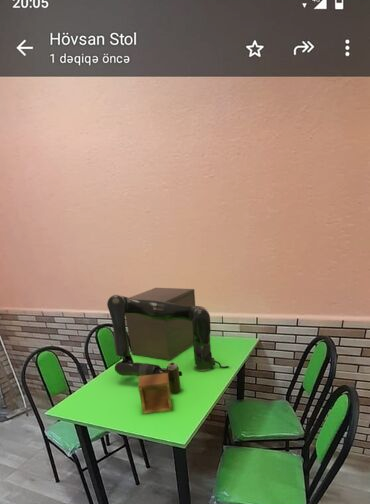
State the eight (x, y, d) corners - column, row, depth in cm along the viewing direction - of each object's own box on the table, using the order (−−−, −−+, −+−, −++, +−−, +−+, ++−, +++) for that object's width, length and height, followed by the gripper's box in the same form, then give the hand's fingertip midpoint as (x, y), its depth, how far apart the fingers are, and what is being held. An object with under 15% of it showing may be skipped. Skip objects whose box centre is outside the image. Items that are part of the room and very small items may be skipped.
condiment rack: (171, 399, 158) (167, 372, 151) (172, 410, 150) (168, 382, 143) (143, 402, 158) (139, 376, 151) (143, 413, 150) (138, 385, 142)
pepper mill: (180, 388, 168) (177, 359, 160) (181, 393, 163) (178, 364, 155) (169, 389, 168) (166, 360, 160) (170, 394, 163) (166, 365, 155)
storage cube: (169, 361, 199) (162, 302, 182) (132, 354, 214) (122, 299, 196) (198, 341, 224) (194, 288, 206) (162, 337, 238) (156, 287, 220)
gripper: (140, 370, 161) (169, 375, 153) (156, 359, 171) (185, 363, 163) (142, 384, 165) (171, 390, 157) (158, 372, 175) (186, 377, 167)
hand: (178, 376), depth 160 cm, fingers closed on pepper mill, 5 cm apart
